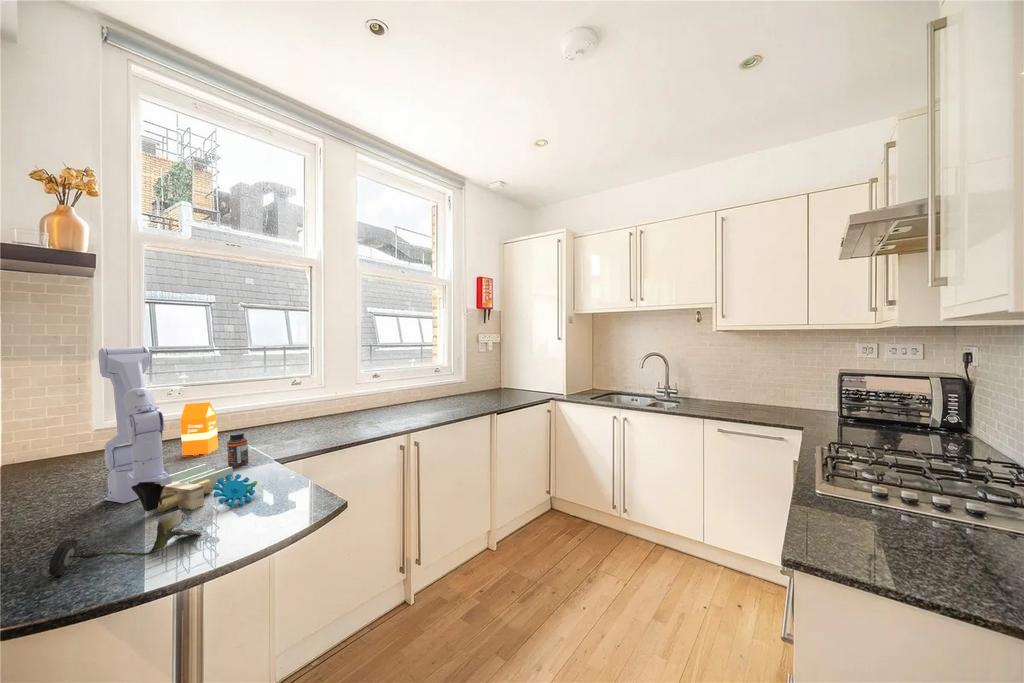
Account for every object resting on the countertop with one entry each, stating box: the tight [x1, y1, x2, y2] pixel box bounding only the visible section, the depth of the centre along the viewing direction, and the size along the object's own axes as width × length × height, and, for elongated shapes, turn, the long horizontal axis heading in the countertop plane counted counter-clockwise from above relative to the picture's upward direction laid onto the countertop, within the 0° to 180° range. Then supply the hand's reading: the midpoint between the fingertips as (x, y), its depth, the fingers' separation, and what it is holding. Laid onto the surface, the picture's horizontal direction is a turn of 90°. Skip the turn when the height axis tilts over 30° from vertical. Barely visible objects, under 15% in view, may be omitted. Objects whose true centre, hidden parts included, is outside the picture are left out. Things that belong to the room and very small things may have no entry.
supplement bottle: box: [226, 431, 249, 468], centre depth 136 cm, size 6×6×11 cm
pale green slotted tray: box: [168, 463, 234, 484], centre depth 119 cm, size 13×12×4 cm
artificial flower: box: [47, 509, 202, 578], centre depth 81 cm, size 9×22×10 cm, turn 117°
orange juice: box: [180, 401, 219, 456], centre depth 152 cm, size 8×9×20 cm
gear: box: [213, 473, 258, 508], centre depth 105 cm, size 11×6×10 cm
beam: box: [161, 481, 205, 511], centre depth 105 cm, size 16×3×5 cm, turn 71°
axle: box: [155, 479, 214, 513], centre depth 106 cm, size 12×4×4 cm, turn 161°
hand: (151, 509), depth 99 cm, fingers closed, pressing on axle
